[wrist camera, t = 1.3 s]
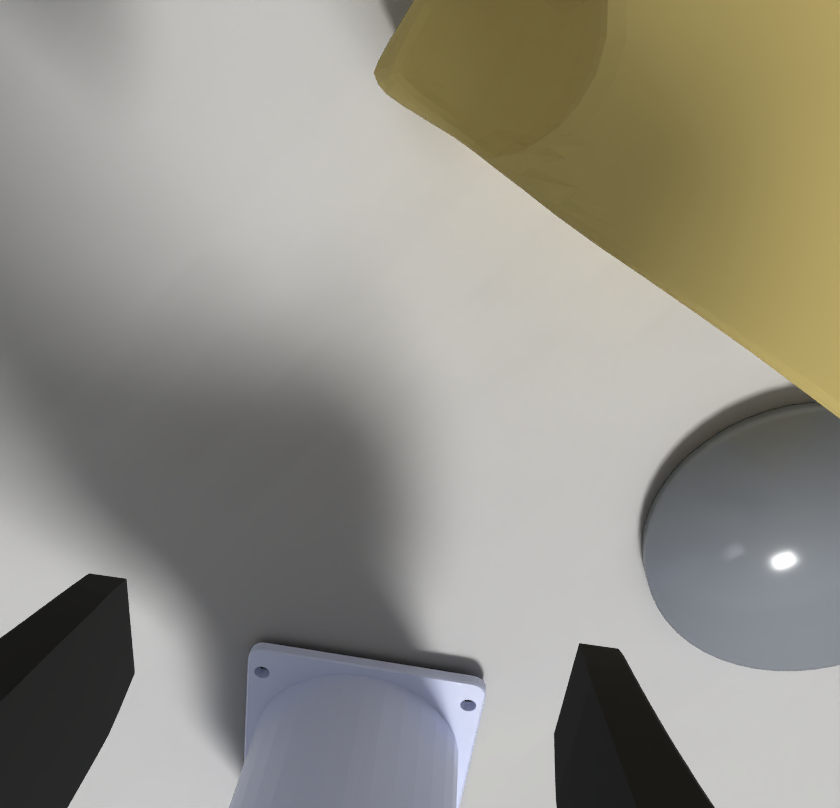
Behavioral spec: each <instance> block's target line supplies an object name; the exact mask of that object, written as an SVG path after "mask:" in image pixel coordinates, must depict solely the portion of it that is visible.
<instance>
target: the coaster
mask: <svg viewBox="0 0 840 808" xmlns="http://www.w3.org/2000/svg"><path fill="white" fill-rule="evenodd" d="M642 557H643V566H644V570H645V574H646V578H647V581H648V585H649V588H650V591H651V594H652V596H653V599H654V601H655V603H656V605H657V608H658V609H659V611H660V612H661V614H662V615H663V617H664V618H665V620H666V621H667V622H668V623H669V624H670V625H671V626H672V628H673V629H674V630H675V631H676V632H677V633H678V634H679V635H681V636H682V637H683V638H684V639H685V640H687V641H688V642H689V643H691V644H692V645H694V646H695V647H697V648H699V649H700V650H702V651H703V652H705V653H708V654H710V655H712V656H714V657H716V658H718V659H721V660H724V661H727V662H730V663H733V664H736V665H740V666H745V667H750V668H754V669H762V670H771V671H802V670H815V669H821V668H826V667H832V666H837V665H840V418H838V417H837V416H836V415H834V414H833V413H832V412H830V411H829V410H828V409H826V408H825V407H824V406H822V405H821V404H820V403H818V402H811V403H804V404H796V405H790V406H786V407H782V408H778V409H773V410H769V411H766V412H763V413H761V414H758V415H755V416H752V417H749V418H747V419H745V420H742V421H740V422H738V423H736V424H734V425H732V426H730V427H728V428H726V429H724V430H723V431H721V432H719V433H718V434H716V435H715V436H713V437H711V438H710V439H708V440H707V441H705V442H704V443H703V444H702V445H700V446H699V447H698V448H697V449H695V450H694V451H693V452H692V453H690V454H689V455H688V456H687V457H686V458H685V459H684V460H683V461H682V462H681V463H680V464H679V465H678V466H677V467H676V468H675V469H674V471H673V472H672V473H671V475H670V476H669V477H668V478H667V480H666V481H665V482H664V484H663V485H662V487H661V489H660V490H659V492H658V494H657V496H656V497H655V499H654V501H653V503H652V506H651V508H650V511H649V513H648V516H647V519H646V523H645V527H644V532H643V541H642Z"/></svg>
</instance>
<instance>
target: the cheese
mask: <svg viewBox="0 0 840 808" xmlns="http://www.w3.org/2000/svg"><path fill="white" fill-rule="evenodd" d="M374 75H375V77H376V80H377V82H378V85H379V86H380V87H381V88H382V89H383V90H384V92H385V93H386V94H387V95H389V96H390V97H391V98H393V99H394V100H396V101H397V102H398V103H400V104H401V105H403V106H404V107H406V108H408V109H409V110H411V111H412V112H414V113H416V114H417V115H419V116H420V117H422V118H424V119H425V120H427V121H429V122H430V123H432V124H433V125H435V126H437V127H438V128H440V129H442V130H443V131H445V132H446V133H448V134H450V135H451V136H453V137H455V138H456V139H457V140H459V141H460V142H462V143H463V144H464V145H466V146H467V147H468V148H470V149H471V150H472V151H474V152H475V153H476V154H478V155H479V156H480V157H482V158H483V159H484V160H485V161H487V162H488V163H489V164H490V165H492V166H493V167H494V168H496V169H497V170H498V171H499V172H501V173H502V174H503V175H505V176H506V177H507V178H509V179H510V180H511V181H513V182H514V183H515V184H517V185H518V186H519V187H521V188H522V189H523V190H525V191H526V192H527V193H528V194H530V195H531V196H532V197H533V198H535V199H536V200H537V201H538V202H540V203H541V204H542V205H543V206H545V207H546V208H547V209H549V210H550V211H551V212H552V213H554V214H555V215H556V216H558V217H559V218H560V219H562V220H563V221H565V222H566V223H567V224H569V225H570V226H571V227H573V228H574V229H576V230H577V231H578V232H580V233H581V234H582V235H584V236H585V237H587V238H588V239H589V240H591V241H592V242H594V243H595V244H596V245H598V246H599V247H601V248H602V249H603V250H605V251H606V252H608V253H609V254H611V255H612V256H614V257H615V258H617V259H618V260H620V261H621V262H623V263H624V264H626V265H627V266H629V267H630V268H631V269H633V270H634V271H636V272H637V273H639V274H640V275H642V276H643V277H645V278H646V279H648V280H649V281H651V282H652V283H653V284H655V285H656V286H658V287H659V288H661V289H662V290H664V291H665V292H666V293H668V294H669V295H671V296H672V297H674V298H675V299H677V300H678V301H679V302H681V303H682V304H684V305H685V306H687V307H688V308H689V309H691V310H692V311H694V312H695V313H697V314H698V315H700V316H701V317H702V318H704V319H705V320H707V321H708V322H709V323H711V324H712V325H714V326H715V327H716V328H718V329H719V330H721V331H722V332H723V333H725V334H726V335H728V336H729V337H731V338H732V339H733V340H735V341H736V342H738V343H739V344H740V345H742V346H743V347H745V348H746V349H747V350H749V351H750V352H752V353H753V354H754V355H756V356H757V357H758V358H760V359H761V360H762V361H764V362H765V363H766V364H768V365H769V366H770V367H772V368H773V369H774V370H776V371H777V372H778V373H780V374H781V375H782V376H784V377H785V378H786V379H788V380H789V381H790V382H792V383H793V384H794V385H796V386H797V387H798V388H800V389H801V390H802V391H804V392H805V393H806V394H808V395H809V396H810V397H812V398H813V399H814V400H816V401H817V402H818V403H820V404H821V405H822V406H824V407H825V408H826V409H828V410H829V411H830V412H832V413H833V414H834V415H836V416H837V417H838V418H840V0H414V1H413V3H412V4H411V6H410V8H409V9H408V11H407V13H406V14H405V16H404V18H403V19H402V21H401V22H400V24H399V26H398V27H397V29H396V31H395V32H394V34H393V36H392V37H391V39H390V41H389V43H388V44H387V46H386V48H385V50H384V52H383V53H382V55H381V57H380V59H379V61H378V63H377V66H376V69H375V71H374Z"/></svg>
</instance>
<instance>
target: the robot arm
mask: <svg viewBox="0 0 840 808" xmlns="http://www.w3.org/2000/svg"><path fill="white" fill-rule="evenodd" d="M260 667H265V668H267V669H262V668H260ZM134 673H135V670H134V659H133V648H132V637H131V625H130V614H129V603H128V592H127V580H126V579H124V578H117V577H110V576H103V575H96V574H88V575H86V576H85V577H83V578H82V579H81V580H79V581H78V582H76V583H75V584H74V585H72V586H71V587H69V588H68V589H67V590H65V591H64V592H62V593H61V594H60V595H58V596H57V597H56V598H54V599H53V600H52V601H50V602H49V603H47V604H46V605H45V606H43V607H42V608H41V609H39V610H38V611H37V612H35V613H34V614H33V615H31V616H30V617H29V618H27V619H26V620H24V621H23V622H22V623H20V624H19V625H18V626H16V627H15V628H14V629H12V630H11V631H9V632H8V633H7V634H5V635H4V636H3V637H1V638H0V808H67V807H68V806H69V804H70V802H71V800H72V799H73V797H74V795H75V793H76V792H77V790H78V788H79V786H80V785H81V783H82V781H83V779H84V778H85V776H86V774H87V772H88V771H89V769H90V767H91V765H92V764H93V762H94V760H95V758H96V756H97V755H98V753H99V751H100V749H101V747H102V746H103V744H104V742H105V740H106V738H107V737H108V735H109V733H110V730H111V728H112V726H113V723H114V721H115V719H116V717H117V714H118V712H119V710H120V707H121V705H122V703H123V700H124V698H125V695H126V693H127V690H128V688H129V686H130V683H131V681H132V678H133V676H134ZM485 696H486V686H485V683H484V681H483V680H481V679H480V678H479V677H476V676H472V675H465V674H459V673H453V672H447V671H440V670H434V669H428V668H421V667H415V666H409V665H403V664H396V663H390V662H384V661H378V660H371V659H365V658H359V657H352V656H346V655H340V654H334V653H327V652H321V651H315V650H309V649H302V648H296V647H290V646H283V645H277V644H271V643H258V644H255V645H254V646H253V647H252V648H251V651H250V653H249V656H248V670H247V695H246V721H245V746H244V765H243V768H242V771H241V774H240V777H239V780H238V783H237V786H236V789H235V791H234V794H233V797H232V800H231V803H230V806H229V808H459V806H460V802H461V798H462V794H463V789H464V785H465V781H466V777H467V773H468V768H469V764H470V760H471V756H472V751H473V747H474V743H475V739H476V734H477V730H478V726H479V722H480V718H481V713H482V709H483V705H484V701H485ZM464 700H471V701H472V702H466V701H464ZM554 747H555V784H556V804H557V808H715V807H714V806H713V804H712V803H711V801H710V800H709V798H708V797H707V795H706V794H705V792H704V791H703V789H702V788H701V786H700V785H699V783H698V782H697V780H696V779H695V777H694V775H693V774H692V772H691V771H690V769H689V767H688V766H687V764H686V763H685V761H684V760H683V758H682V756H681V755H680V753H679V752H678V750H677V748H676V747H675V745H674V744H673V742H672V740H671V739H670V737H669V735H668V734H667V732H666V730H665V729H664V727H663V725H662V724H661V722H660V720H659V718H658V717H657V715H656V713H655V711H654V710H653V708H652V706H651V705H650V703H649V701H648V699H647V697H646V696H645V694H644V692H643V690H642V689H641V687H640V685H639V683H638V681H637V679H636V678H635V676H634V674H633V672H632V670H631V668H630V667H629V665H628V663H627V661H626V659H625V657H624V656H623V654H622V653H621V652H620V650H619V649H616V648H609V647H602V646H595V645H588V644H581V643H579V646H578V650H577V654H576V657H575V661H574V664H573V668H572V672H571V675H570V679H569V682H568V686H567V690H566V693H565V697H564V700H563V704H562V708H561V711H560V715H559V718H558V722H557V726H556V729H555V733H554Z"/></svg>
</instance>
